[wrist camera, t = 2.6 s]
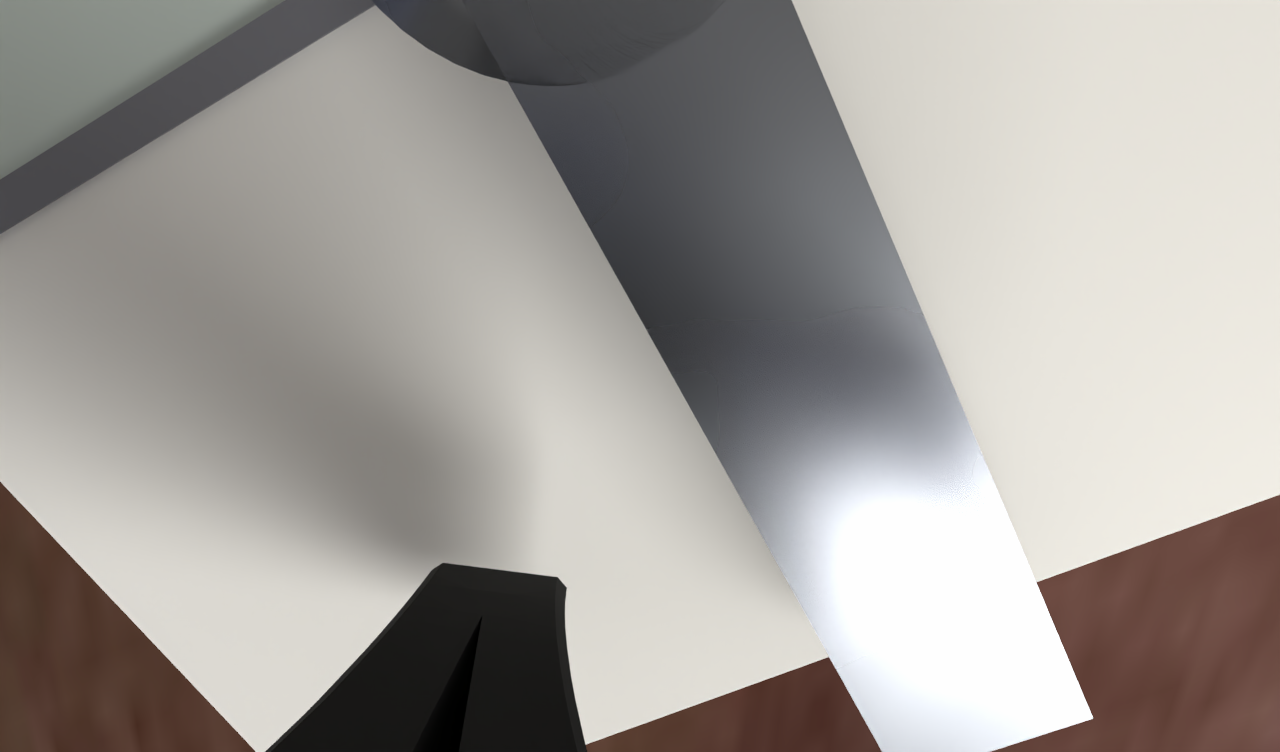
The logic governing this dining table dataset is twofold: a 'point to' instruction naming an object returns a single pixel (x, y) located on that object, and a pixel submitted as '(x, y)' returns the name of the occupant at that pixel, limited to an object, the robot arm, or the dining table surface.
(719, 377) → the bar
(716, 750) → the dining table surface
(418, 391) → the plate
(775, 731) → the dining table surface
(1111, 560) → the dining table surface
